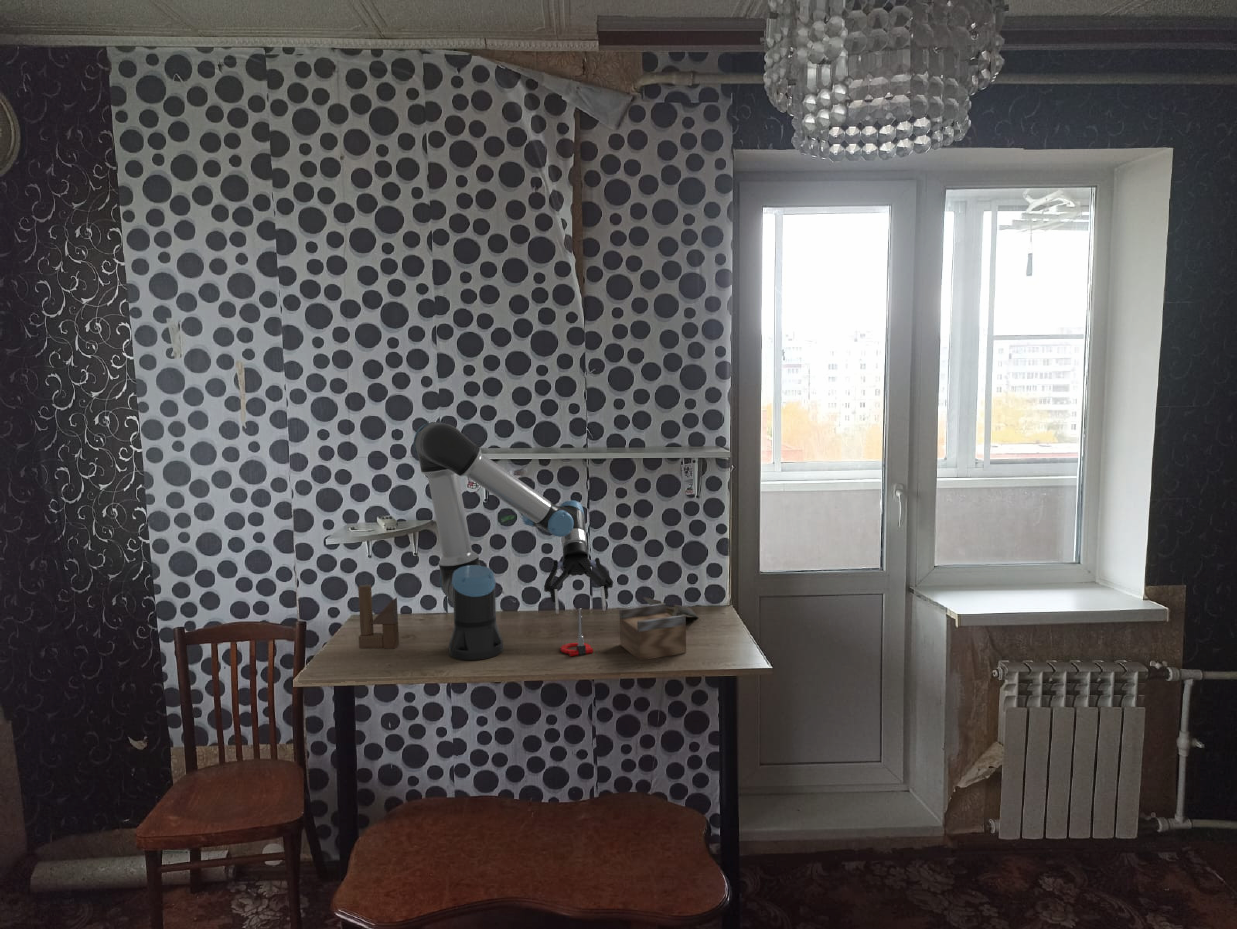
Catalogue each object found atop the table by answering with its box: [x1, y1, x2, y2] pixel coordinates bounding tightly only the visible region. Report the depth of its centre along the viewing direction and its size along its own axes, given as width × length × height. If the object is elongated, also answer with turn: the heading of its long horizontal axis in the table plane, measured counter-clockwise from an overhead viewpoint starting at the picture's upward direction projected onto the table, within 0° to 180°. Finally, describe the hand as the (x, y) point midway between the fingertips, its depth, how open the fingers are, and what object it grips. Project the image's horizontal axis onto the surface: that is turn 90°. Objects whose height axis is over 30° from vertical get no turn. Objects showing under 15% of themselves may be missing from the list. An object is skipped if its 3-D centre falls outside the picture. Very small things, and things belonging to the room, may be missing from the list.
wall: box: [642, 596, 700, 619], centre depth 245 cm, size 16×9×15 cm
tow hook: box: [560, 608, 594, 657], centre depth 221 cm, size 8×13×9 cm
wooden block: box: [357, 584, 400, 649], centre depth 227 cm, size 4×11×18 cm, turn 86°
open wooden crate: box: [619, 602, 687, 661], centre depth 221 cm, size 14×14×10 cm
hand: (581, 610), depth 226 cm, fingers open, 13 cm apart
